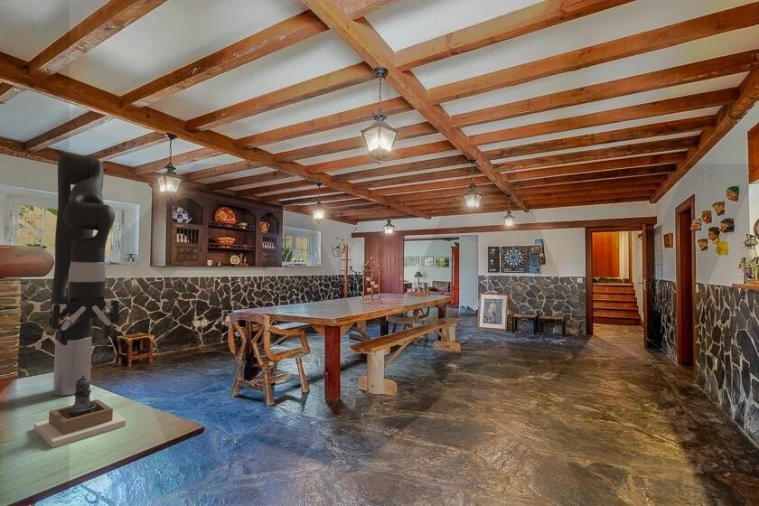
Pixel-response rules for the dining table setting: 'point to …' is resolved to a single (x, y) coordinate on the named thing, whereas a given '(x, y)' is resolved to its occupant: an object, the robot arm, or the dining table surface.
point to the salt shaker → (82, 399)
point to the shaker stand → (77, 424)
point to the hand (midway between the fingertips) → (84, 341)
